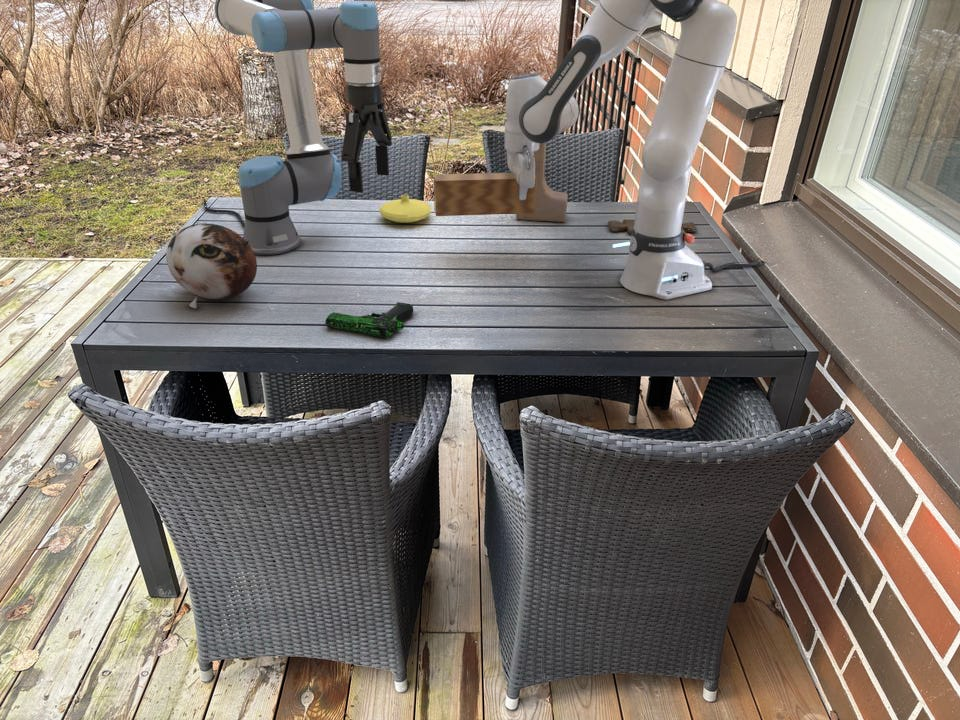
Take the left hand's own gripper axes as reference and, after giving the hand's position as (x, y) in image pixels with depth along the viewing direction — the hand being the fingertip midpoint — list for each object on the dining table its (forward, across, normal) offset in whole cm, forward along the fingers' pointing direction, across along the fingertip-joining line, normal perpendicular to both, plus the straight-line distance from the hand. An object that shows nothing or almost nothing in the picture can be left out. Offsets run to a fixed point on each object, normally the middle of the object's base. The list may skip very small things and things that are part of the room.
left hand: (370, 182), depth 161 cm
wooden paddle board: (+26, +64, -59) cm, 91 cm away
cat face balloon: (+26, -17, +33) cm, 45 cm away
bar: (+14, +31, -18) cm, 38 cm away
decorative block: (+26, +63, -26) cm, 73 cm away
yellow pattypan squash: (+26, +47, +13) cm, 55 cm away
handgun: (+26, -17, -7) cm, 32 cm away
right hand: (+10, +35, -26) cm, 45 cm away
